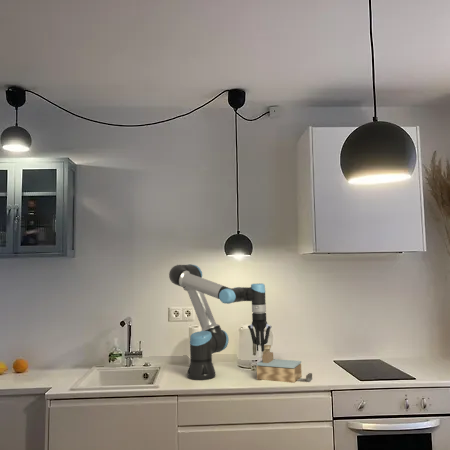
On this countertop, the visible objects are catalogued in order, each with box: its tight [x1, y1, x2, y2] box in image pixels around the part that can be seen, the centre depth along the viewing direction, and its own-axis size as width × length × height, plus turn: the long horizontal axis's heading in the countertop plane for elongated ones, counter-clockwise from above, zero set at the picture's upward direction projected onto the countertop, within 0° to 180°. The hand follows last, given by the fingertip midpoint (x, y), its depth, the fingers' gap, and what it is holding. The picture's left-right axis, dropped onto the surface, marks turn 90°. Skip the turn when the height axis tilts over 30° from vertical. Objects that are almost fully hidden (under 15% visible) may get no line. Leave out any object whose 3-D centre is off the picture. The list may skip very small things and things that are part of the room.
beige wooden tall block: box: [261, 344, 272, 361], centre depth 252 cm, size 4×4×14 cm
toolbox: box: [256, 363, 313, 384], centre depth 231 cm, size 26×13×7 cm, turn 64°
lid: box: [256, 351, 302, 368], centre depth 233 cm, size 20×13×5 cm, turn 64°
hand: (260, 357), depth 237 cm, fingers closed
